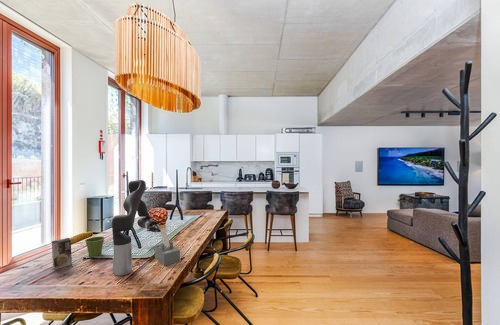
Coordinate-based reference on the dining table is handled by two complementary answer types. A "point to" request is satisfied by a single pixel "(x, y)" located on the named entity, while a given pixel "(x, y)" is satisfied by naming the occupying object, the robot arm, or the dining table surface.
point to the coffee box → (61, 253)
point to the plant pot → (94, 245)
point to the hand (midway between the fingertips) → (160, 230)
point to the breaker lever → (164, 236)
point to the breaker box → (167, 254)
